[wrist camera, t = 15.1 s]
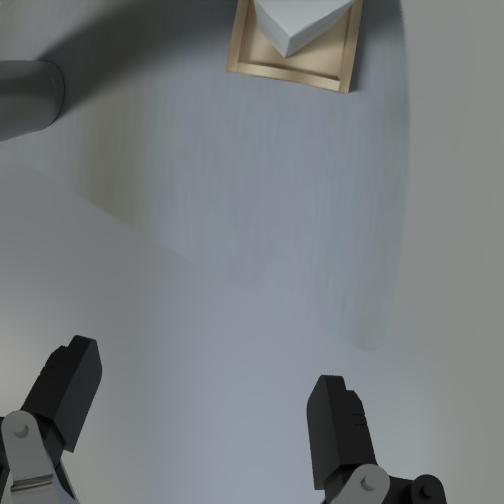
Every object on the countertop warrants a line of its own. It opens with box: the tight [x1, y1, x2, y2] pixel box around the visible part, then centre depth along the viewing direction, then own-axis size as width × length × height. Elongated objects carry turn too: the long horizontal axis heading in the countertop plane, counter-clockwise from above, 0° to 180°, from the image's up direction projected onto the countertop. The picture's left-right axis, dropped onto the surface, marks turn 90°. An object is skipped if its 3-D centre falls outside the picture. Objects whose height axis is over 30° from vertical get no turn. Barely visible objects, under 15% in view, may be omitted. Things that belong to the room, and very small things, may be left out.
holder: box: [226, 0, 363, 94], centre depth 26 cm, size 12×12×2 cm
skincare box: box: [253, 0, 355, 58], centre depth 21 cm, size 6×4×12 cm
